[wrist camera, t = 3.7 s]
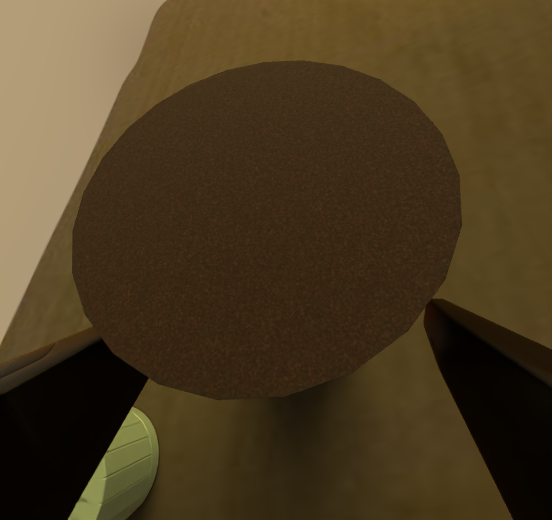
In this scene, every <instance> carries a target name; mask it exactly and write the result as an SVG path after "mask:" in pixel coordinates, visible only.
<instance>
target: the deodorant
mask: <svg viewBox="0 0 552 520" xmlns="http://www.w3.org/2000/svg"><path fill="white" fill-rule="evenodd" d="M461 227H462V217H461V198H460V179H459V174H458V171H457V169H456V166H455V164H454V162H453V159H452V157H451V154H450V152H449V150H448V147H447V145H446V142H445V140H444V138H443V135H442V133H441V132H440V131H439V130H438V129H437V127H436V126H435V125H434V124H433V123H432V122H431V121H430V119H429V118H428V117H427V116H426V115H425V114H424V113H423V111H422V110H421V109H420V108H419V107H418V106H417V104H416V103H415V102H414V101H412V100H411V99H409V98H408V97H406V96H405V95H403V94H402V93H400V92H399V91H397V90H395V89H394V88H392V87H391V86H389V85H388V84H386V83H385V82H383V81H382V80H380V79H378V78H375V77H372V76H369V75H366V74H363V73H361V72H358V71H355V70H352V69H349V68H346V67H343V66H338V65H331V64H324V63H317V62H310V61H282V62H263V63H258V64H254V65H249V66H245V67H240V68H235V69H231V70H226V71H224V72H221V73H218V74H216V75H213V76H211V77H208V78H206V79H203V80H200V81H198V82H195V83H193V84H190V85H189V86H187V87H185V88H183V89H182V90H180V91H178V92H177V93H175V94H173V95H171V96H170V97H168V98H166V99H165V100H163V101H161V102H159V103H158V104H156V105H155V106H154V107H153V108H152V109H150V110H149V111H148V112H147V113H146V114H144V115H143V116H142V117H141V118H140V119H138V120H137V121H136V122H135V123H133V124H132V125H131V126H130V127H129V128H128V129H127V130H126V131H125V132H124V133H123V134H122V136H121V137H120V138H119V139H118V140H117V142H116V143H115V144H114V145H113V146H112V148H111V149H110V150H109V151H108V152H107V153H106V155H105V156H104V157H103V158H102V160H101V162H100V164H99V166H98V167H97V169H96V171H95V173H94V175H93V176H92V178H91V180H90V182H89V184H88V186H87V187H86V189H85V191H84V193H83V197H82V200H81V204H80V207H79V211H78V214H77V218H76V221H75V225H74V228H73V249H72V273H73V277H74V280H75V284H76V287H77V290H78V294H79V297H80V300H81V303H82V306H83V310H84V313H85V315H86V317H87V318H88V319H89V321H90V322H91V323H92V325H93V326H94V328H95V329H96V330H97V332H98V333H99V335H100V336H101V337H102V339H103V340H104V342H105V343H106V344H107V346H108V347H109V348H110V350H111V351H112V353H113V354H115V355H116V356H117V357H119V358H120V359H122V360H123V361H125V362H126V363H128V364H129V365H131V366H132V367H134V368H135V369H137V370H138V371H140V372H141V373H142V374H144V375H145V376H147V377H148V378H150V379H151V380H153V381H154V382H156V383H157V384H160V385H163V386H167V387H171V388H174V389H178V390H182V391H186V392H189V393H193V394H197V395H200V396H204V397H208V398H211V399H215V400H230V399H250V398H270V397H286V396H289V395H292V394H294V393H297V392H300V391H303V390H305V389H308V388H311V387H314V386H317V385H319V384H322V383H325V382H328V381H330V380H333V379H336V378H339V377H342V376H344V375H347V374H350V373H352V372H354V371H355V370H356V369H358V368H359V367H360V366H362V365H363V364H364V363H366V362H367V361H368V360H370V359H371V358H372V357H374V356H375V355H376V354H378V353H379V352H380V351H382V350H383V349H384V348H386V347H387V346H388V345H390V344H391V343H392V342H394V341H395V340H396V339H398V338H399V337H400V336H402V335H403V334H404V333H406V332H407V331H408V330H409V329H410V327H411V326H412V325H413V323H414V322H415V320H416V319H417V318H418V316H419V315H420V314H421V312H422V311H423V309H424V308H425V307H426V305H427V304H428V303H429V301H430V300H431V298H432V297H433V296H434V294H435V293H436V292H437V290H438V289H439V287H440V286H441V285H442V283H443V282H444V280H445V279H446V276H447V272H448V269H449V266H450V263H451V259H452V256H453V253H454V249H455V246H456V243H457V240H458V236H459V233H460V230H461Z"/></svg>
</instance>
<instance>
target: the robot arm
mask: <svg viewBox="0 0 552 520" xmlns="http://www.w3.org/2000/svg"><path fill="white" fill-rule="evenodd" d="M424 328H425V331H426V333H427V336H428V339H429V342H430V345H431V348H432V350H433V353H434V356H435V359H436V362H437V364H438V367H439V369H440V372H441V374H442V376H443V378H444V380H445V382H446V384H447V386H448V388H449V390H450V392H451V394H452V396H453V398H454V400H455V402H456V404H457V406H458V409H459V411H460V413H461V415H462V417H463V419H464V421H465V423H466V425H467V427H468V429H469V431H470V433H471V435H472V437H473V439H474V441H475V443H476V445H477V447H478V449H479V451H480V453H481V455H482V457H483V459H484V461H485V463H486V465H487V467H488V469H489V471H490V473H491V476H492V478H493V480H494V482H495V484H496V486H497V488H498V490H499V492H500V494H501V496H502V498H503V500H504V502H505V504H506V506H507V508H508V510H509V512H510V514H511V516H512V518H513V520H552V349H549V348H547V347H545V346H543V345H541V344H539V343H536V342H534V341H532V340H530V339H528V338H526V337H524V336H521V335H519V334H517V333H515V332H513V331H511V330H508V329H506V328H504V327H502V326H500V325H498V324H496V323H493V322H491V321H489V320H487V319H485V318H483V317H480V316H478V315H476V314H474V313H472V312H470V311H468V310H465V309H463V308H461V307H459V306H457V305H455V304H452V303H450V302H448V301H446V300H444V299H431V300H430V301H429V303H428V304H427V305H426V309H425V315H424ZM148 379H149V378H148V377H147V376H145V375H144V374H142V373H141V372H140V371H138V370H137V369H135V368H134V367H132V366H131V365H129V364H128V363H126V362H125V361H123V360H122V359H120V358H119V357H117V356H116V355H115V354H113V353H112V351H111V350H110V348H109V347H108V346H107V344H106V343H105V342H104V340H103V339H102V337H101V336H100V335H99V333H98V332H97V330H96V329H95V328H94V326H92V327H90V328H88V329H85V330H83V331H80V332H78V333H76V334H73V335H71V336H69V337H66V338H64V339H61V340H59V341H57V342H54V343H52V344H49V345H47V346H45V347H42V348H40V349H37V350H35V351H32V352H30V353H28V354H25V355H23V356H20V357H18V358H15V359H12V360H10V361H7V362H5V363H2V364H0V520H68V518H69V517H70V515H71V513H72V512H73V510H74V508H75V506H76V503H77V502H78V501H79V499H80V497H81V495H82V494H83V492H84V490H85V488H86V487H87V485H88V483H89V481H90V480H91V478H92V476H93V475H94V473H95V471H96V469H97V468H98V466H99V464H100V462H101V461H102V459H103V457H104V455H105V454H106V452H107V450H108V448H109V447H110V445H111V443H112V441H113V440H114V438H115V436H116V434H117V433H118V431H119V429H120V427H121V426H122V424H123V422H124V420H125V419H126V417H127V415H128V413H129V412H130V410H131V408H132V407H133V405H134V403H135V401H136V400H137V398H138V396H139V394H140V393H141V391H142V389H143V387H144V386H145V384H146V382H147V380H148Z"/></svg>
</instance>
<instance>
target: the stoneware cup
mask: <svg viewBox="0 0 552 520" xmlns="http://www.w3.org/2000/svg"><path fill="white" fill-rule="evenodd" d="M158 461H159V445H158V439H157V435H156V432H155V429H154V427H153V425H152V423H151V421H150V420H149V419H148V417H147V416H146V415H145V414H144V413H142V412H141V411H139V410H138V409H136V408H133V407H132V408H131V410H130V412H129V413H128V415H127V417H126V419H125V420H124V422H123V424H122V426H121V427H120V429H119V431H118V433H117V434H116V436H115V438H114V440H113V441H112V443H111V445H110V447H109V448H108V450H107V452H106V454H105V455H104V457H103V459H102V461H101V462H100V464H99V466H98V468H97V469H96V471H95V473H94V475H93V476H92V478H91V480H90V481H89V483H88V485H87V487H86V488H85V490H84V492H83V494H82V495H81V497H80V499H79V501H78V502H77V503H76V506H75V508H74V510H73V512H72V513H71V515H70V517H69V518H68V520H126V519H127V518H128V517H130V516H131V515H132V514H133V513H134V512H135V511H136V510H137V509H138V508H139V507H140V505H141V504H142V503H143V502H144V500H145V498H146V497H147V495H148V493H149V491H150V489H151V487H152V485H153V482H154V479H155V476H156V472H157V467H158Z"/></svg>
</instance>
